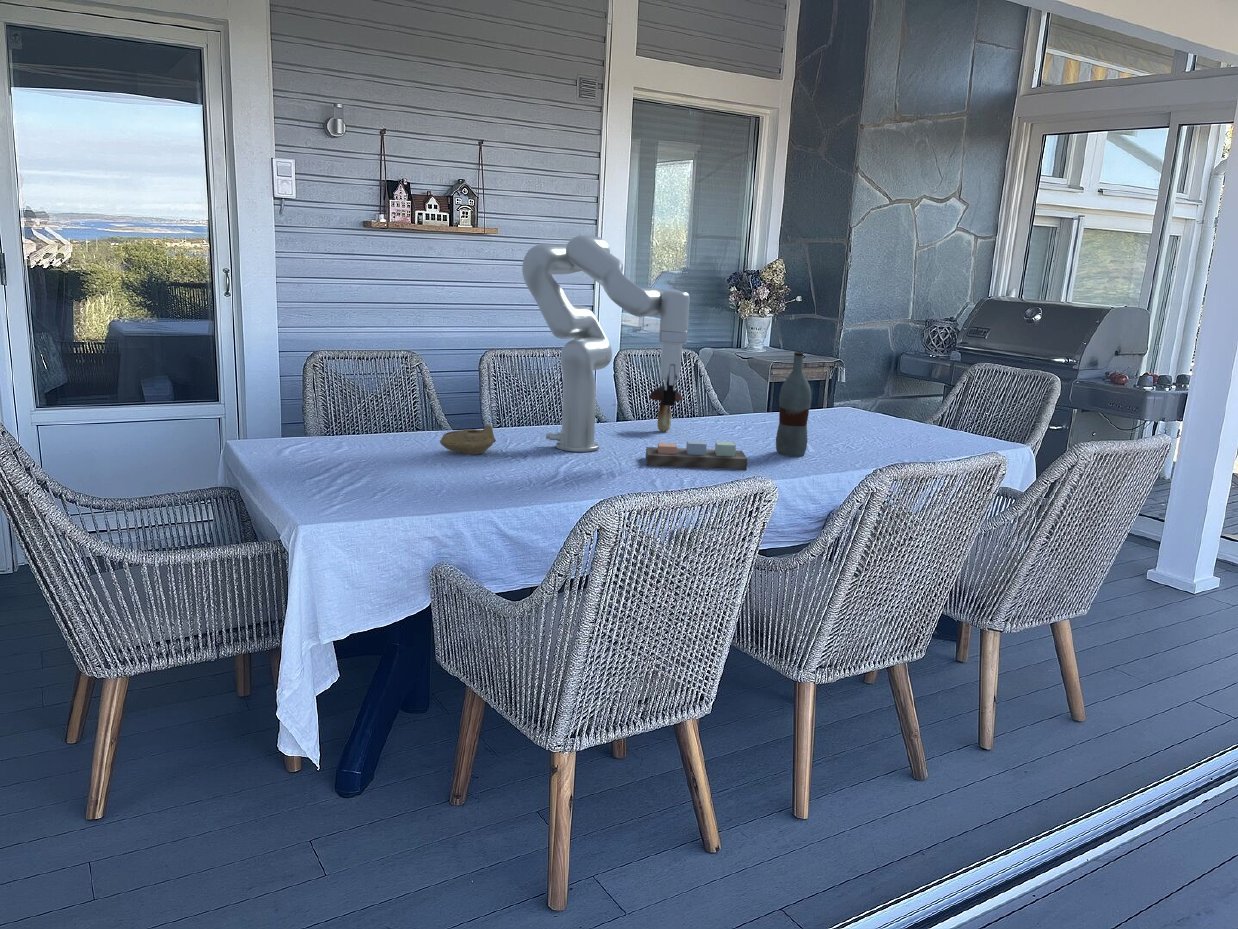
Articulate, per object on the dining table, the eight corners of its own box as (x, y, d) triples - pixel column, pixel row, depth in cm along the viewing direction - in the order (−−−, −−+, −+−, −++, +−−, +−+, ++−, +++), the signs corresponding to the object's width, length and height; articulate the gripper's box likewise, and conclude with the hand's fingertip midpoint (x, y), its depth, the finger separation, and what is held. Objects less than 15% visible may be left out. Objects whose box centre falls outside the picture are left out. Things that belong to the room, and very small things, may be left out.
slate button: (687, 459, 264) (688, 443, 263) (685, 455, 269) (686, 440, 268) (705, 460, 264) (706, 444, 263) (703, 456, 269) (704, 440, 268)
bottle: (768, 452, 286) (776, 351, 280) (785, 449, 293) (793, 350, 286) (795, 458, 280) (804, 354, 273) (812, 454, 287) (821, 353, 280)
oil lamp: (434, 451, 268) (434, 423, 266) (484, 447, 276) (484, 420, 275) (450, 459, 259) (450, 430, 257) (501, 455, 267) (501, 426, 266)
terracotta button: (658, 462, 264) (658, 446, 263) (657, 458, 269) (657, 442, 268) (676, 463, 264) (677, 446, 264) (674, 459, 269) (675, 443, 268)
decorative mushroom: (648, 427, 319) (651, 382, 316) (682, 429, 317) (684, 384, 314) (645, 433, 308) (647, 386, 305) (679, 435, 307) (682, 388, 304)
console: (647, 465, 261) (647, 455, 261) (645, 457, 272) (646, 446, 272) (746, 469, 262) (747, 458, 261) (741, 461, 273) (742, 450, 272)
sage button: (716, 460, 264) (717, 444, 264) (714, 457, 269) (715, 441, 268) (734, 461, 265) (735, 445, 264) (732, 457, 269) (733, 441, 268)
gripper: (657, 334, 267) (653, 400, 271) (660, 339, 252) (656, 408, 256) (684, 335, 267) (680, 401, 271) (689, 341, 252) (684, 410, 256)
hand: (668, 404), depth 264 cm, fingers closed
